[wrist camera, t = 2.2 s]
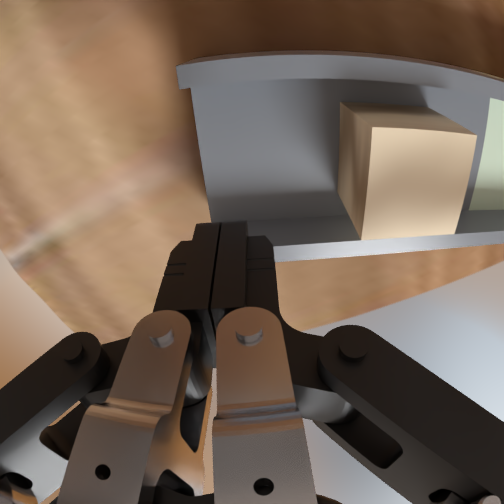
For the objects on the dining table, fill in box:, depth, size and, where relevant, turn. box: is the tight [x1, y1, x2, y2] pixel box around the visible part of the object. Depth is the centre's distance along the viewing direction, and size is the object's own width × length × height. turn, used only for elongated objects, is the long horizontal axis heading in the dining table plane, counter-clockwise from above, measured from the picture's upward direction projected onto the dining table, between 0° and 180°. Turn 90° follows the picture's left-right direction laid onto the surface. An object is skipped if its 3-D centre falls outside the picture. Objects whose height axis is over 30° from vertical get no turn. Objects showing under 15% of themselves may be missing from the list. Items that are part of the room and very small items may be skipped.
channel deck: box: [176, 50, 504, 262], centre depth 15 cm, size 10×33×6 cm, turn 95°
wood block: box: [337, 102, 477, 240], centre depth 14 cm, size 5×5×4 cm
